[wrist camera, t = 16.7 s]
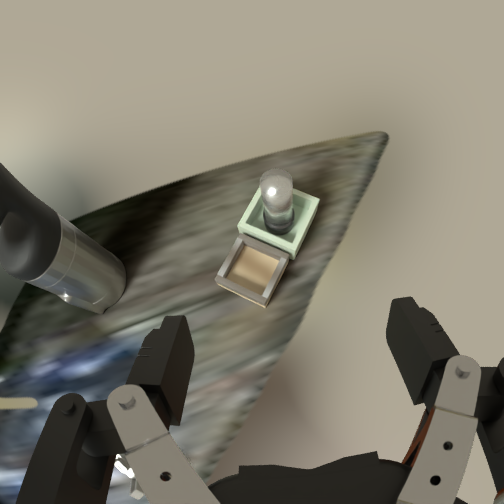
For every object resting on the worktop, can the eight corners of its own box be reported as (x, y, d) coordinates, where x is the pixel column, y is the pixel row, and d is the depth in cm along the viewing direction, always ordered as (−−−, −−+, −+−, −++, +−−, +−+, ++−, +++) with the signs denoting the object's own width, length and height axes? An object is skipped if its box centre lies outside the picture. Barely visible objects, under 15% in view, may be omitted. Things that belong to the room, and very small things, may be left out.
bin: (293, 260, 44) (295, 251, 40) (240, 236, 46) (237, 225, 42) (316, 211, 46) (319, 199, 43) (266, 191, 48) (264, 177, 45)
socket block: (265, 308, 42) (264, 304, 39) (218, 285, 44) (214, 279, 41) (288, 261, 44) (289, 254, 41) (242, 241, 46) (240, 232, 43)
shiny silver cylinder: (285, 240, 44) (284, 204, 34) (258, 227, 45) (250, 189, 35) (299, 215, 45) (301, 174, 35) (273, 203, 46) (268, 161, 36)
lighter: (123, 451, 36) (96, 464, 29) (128, 445, 37) (102, 457, 29) (157, 482, 34) (136, 501, 27) (163, 476, 35) (143, 495, 27)
